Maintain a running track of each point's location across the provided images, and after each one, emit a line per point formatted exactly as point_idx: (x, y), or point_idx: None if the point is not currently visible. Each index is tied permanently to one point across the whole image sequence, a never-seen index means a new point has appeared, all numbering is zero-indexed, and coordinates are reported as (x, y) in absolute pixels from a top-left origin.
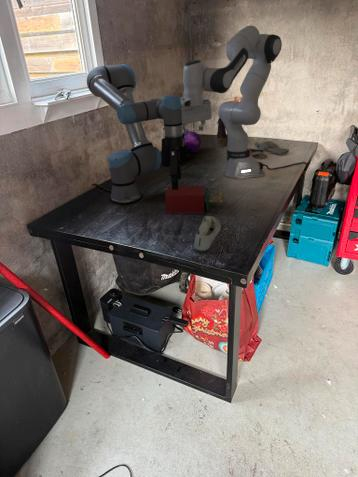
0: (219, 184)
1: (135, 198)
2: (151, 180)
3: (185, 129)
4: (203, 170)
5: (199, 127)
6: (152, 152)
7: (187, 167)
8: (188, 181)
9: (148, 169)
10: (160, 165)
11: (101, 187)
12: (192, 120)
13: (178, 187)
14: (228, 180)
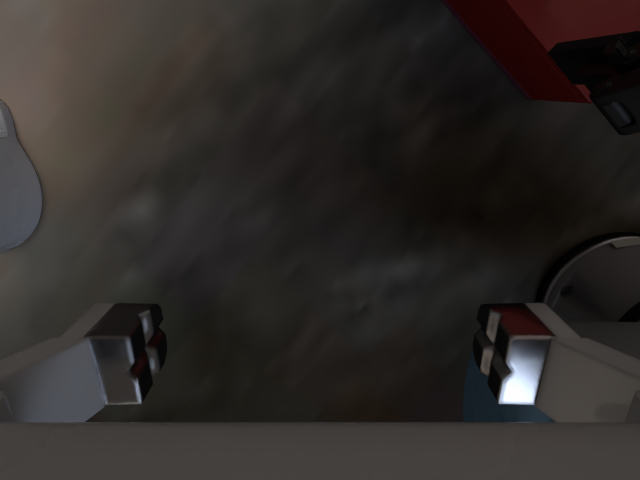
0: (151, 123)
1: (620, 239)
2: (384, 393)
3: (591, 342)
4: None
5: (146, 374)
6: None
7: (148, 421)
8: (260, 274)
9: (595, 322)
10: None
11: None
12: (506, 471)
13: (569, 29)
14: (69, 135)
